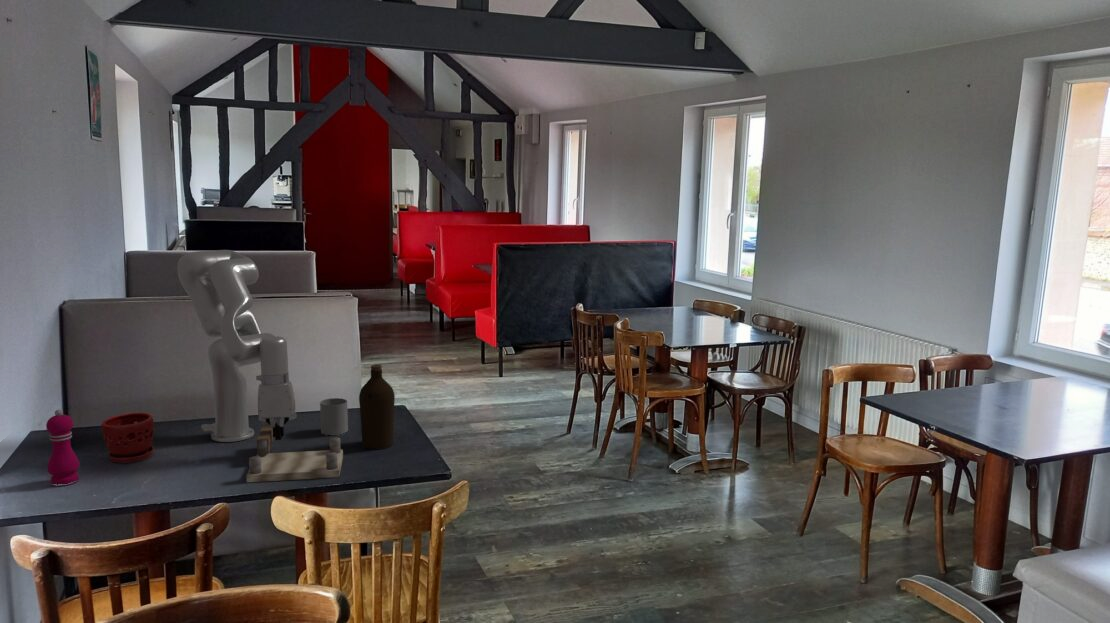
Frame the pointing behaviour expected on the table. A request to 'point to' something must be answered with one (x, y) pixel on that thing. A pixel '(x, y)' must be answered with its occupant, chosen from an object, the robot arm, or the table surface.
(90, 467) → the table surface
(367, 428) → the olive oil
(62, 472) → the pepper mill
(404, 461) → the table surface
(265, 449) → the folding leg
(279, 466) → the stool seat
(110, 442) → the plant pot
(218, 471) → the table surface
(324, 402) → the cup
